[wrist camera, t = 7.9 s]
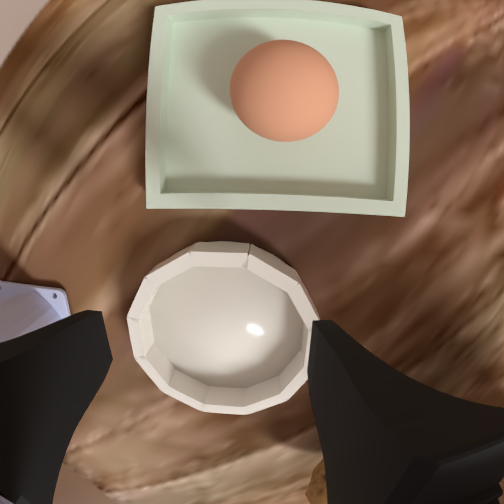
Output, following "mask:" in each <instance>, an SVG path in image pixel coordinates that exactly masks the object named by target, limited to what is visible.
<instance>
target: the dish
mask: <svg viewBox="0 0 504 504" xmlns="http://www.w3.org/2000/svg"><path fill="white" fill-rule="evenodd" d="M313 320H320V318H319V315H318V311H317V309H316V307H315V305H314V303H313V301H312V300H311V298H310V296H309V293H308V291H307V289H306V287H305V286H304V284H303V282H302V281H301V279H300V277H299V275H298V273H297V271H295V269H293V268H292V267H290V266H288V265H287V264H286V263H284V262H283V261H282V260H280V259H279V258H277V257H276V256H274V255H273V254H271V253H269V252H267V251H265V250H263V249H261V248H258V247H256V246H255V245H253V244H251V245H250V243H240V242H233V241H210V242H198V243H197V242H196V243H194V244H193V245H191V246H189V247H187V248H185V249H183V250H181V251H179V252H177V253H176V254H174V255H173V256H171V257H170V258H168V259H166V260H164V261H163V262H161V263H159V264H157V265H156V266H155V267H154V268H153V269H152V270H151V271H150V272H149V273H148V274H147V275H146V276H145V277H144V279H143V281H142V284H141V286H140V288H139V290H138V292H137V294H136V297H135V299H134V301H133V303H132V306H131V308H130V310H129V312H128V315H127V322H128V328H129V333H130V339H131V344H132V349H133V354H134V358H135V360H136V361H137V362H138V363H139V365H140V366H141V367H142V368H143V370H144V371H145V372H146V373H147V374H148V376H149V377H150V378H151V379H152V380H153V382H154V383H155V384H156V385H157V386H158V387H159V389H160V390H161V391H163V392H164V393H166V394H168V395H170V396H171V397H173V398H175V399H177V400H179V401H181V402H183V403H185V404H187V405H189V406H192V407H194V408H196V409H198V410H200V411H202V410H203V412H213V413H225V414H241V415H246V414H247V415H248V414H251V413H254V412H257V411H260V410H263V409H265V408H268V407H271V406H274V405H277V404H280V403H282V402H285V401H287V400H289V399H290V398H291V396H292V395H293V394H294V393H295V392H296V391H297V390H298V389H299V388H300V387H301V386H302V385H303V384H304V383H305V382H306V380H307V379H308V375H307V367H308V359H309V350H310V341H311V331H312V321H313Z"/></svg>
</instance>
